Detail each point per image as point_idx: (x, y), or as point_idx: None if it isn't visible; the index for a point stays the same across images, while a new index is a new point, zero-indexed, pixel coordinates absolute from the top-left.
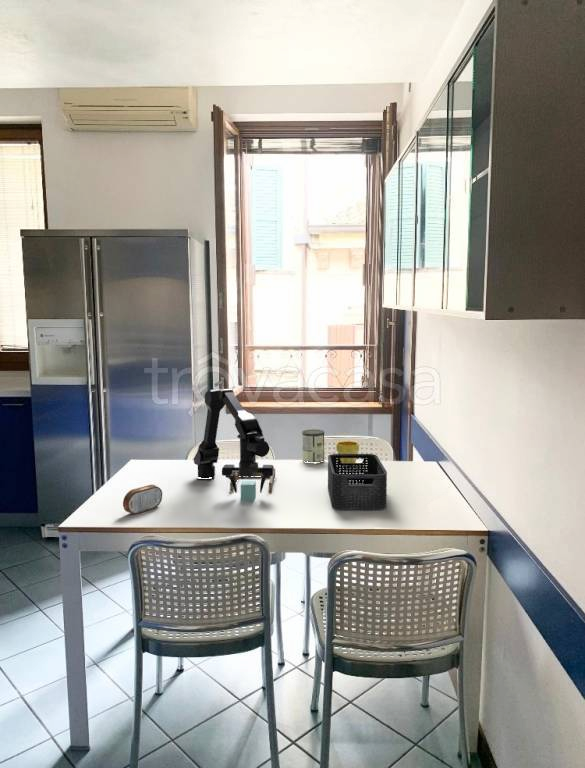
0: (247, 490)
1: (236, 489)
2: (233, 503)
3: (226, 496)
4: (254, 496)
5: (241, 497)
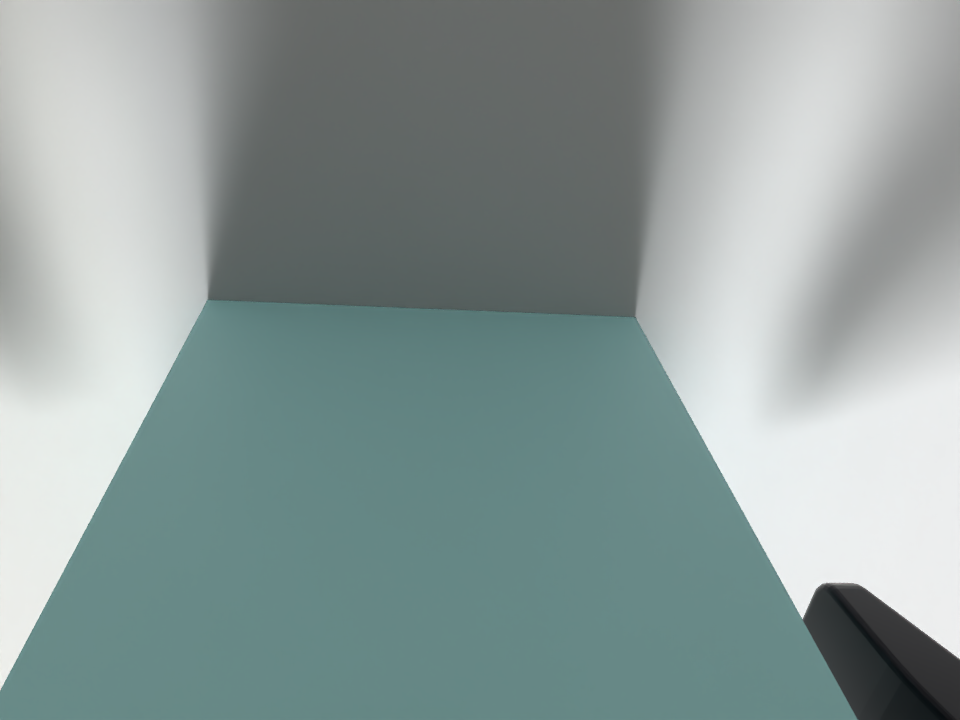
0: (442, 553)
1: (864, 697)
2: (911, 53)
3: (941, 594)
4: (168, 380)
5: (643, 372)
